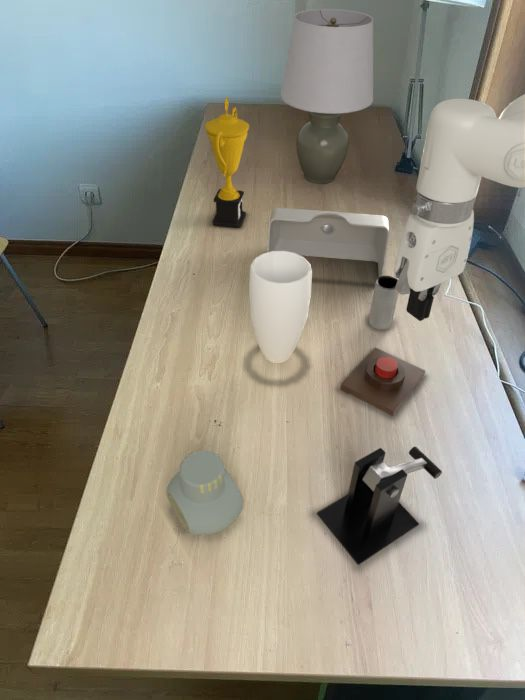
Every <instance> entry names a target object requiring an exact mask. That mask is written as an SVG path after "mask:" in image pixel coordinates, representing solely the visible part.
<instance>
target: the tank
mask: <svg viewBox="0 0 525 700" xmlns="http://www.w3.org/2000/svg"><path fill="white" fill-rule="evenodd" d="M389 226H390V225H389V219H388V217H387V216H385V215H383V214H371V213H354V212H343V211H330V210H329V211H328V210H317V209H315V210H313V209H304V208H303V209H301V208H289V207H275V208H273V209H272V211H271V214H270V217H269V222H268V232H267V233H268V234H267V246H266V247H267V248H266V249H267V251H266V253H267V252H271V251H288V252H293V253H296V254H298V255H300V256H302V257H316V258H318V257H319V258H326V259H327V258H329V259H340V260H341V259H342V260H353V261H367V262H375V263H377V271H378V278H379V277H381V276H385V267H386V260H387V254H388V245H389V240H390V239H389V238H390V228H389Z"/></svg>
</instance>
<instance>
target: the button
mask: <svg viewBox="0 0 525 700" xmlns="http://www.w3.org/2000/svg"><path fill="white" fill-rule="evenodd" d="M397 368H398V364H397V362H396V361H395V360H394V359H392V358H390V357H381V358H379V359H378V360H377V362H376V367H375V372H376V374H377V375H378V376H380V377H382V378H387V379H389V378H393V377H394V376H395V375H396V372H397Z"/></svg>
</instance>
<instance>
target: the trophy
mask: <svg viewBox="0 0 525 700" xmlns="http://www.w3.org/2000/svg"><path fill="white" fill-rule="evenodd" d="M228 110H229V97H228V96H226V97H225V99H224V111H225V113H223V114H220V115H219V116H218V117H217V118H214V119H213V118H212V119H211V120H209V121H207V122H206V123H205V124H204V129H205V131H206V136H207V138H208V140H209V141H210V145H211V150H212V153H213V155H214V156H213V157H214V160H215V163H216V165H217V169H218V170H219V171H220V173H222V176H223V177H225V178H224V179H225V185H224V186H222V187H221V188H219V189H218V190H217V192H216V194H215V195H214V198H213V202H214V203H215V212H216V213H215V215H214V218H213V220H212V226H214V227H220V228H231V229H240V228H241V227H243V224H244V221H245V219H246V216H247V212H246V211H244V210H243V197H244V194H245V192H244V190H238V189H236V187H235V186H233V184H232V183H233V182H232V176H233V175H234V173H236V172H237V170H238V169H239V165H240V162H241V157H242V154H243V150H244V147H245V142H246V140H247V137H248V131H249V129H250V124H249V123H248V122H246V121H245V120H243V119H240V118H238V109H237V107H235V106H233V107H232V109H231V113H228Z"/></svg>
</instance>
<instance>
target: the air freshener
mask: <svg viewBox="0 0 525 700" xmlns="http://www.w3.org/2000/svg"><path fill="white" fill-rule="evenodd" d="M165 491H166V496H167V498H168V501H169V504H170V506H171V508H172V509H173V512H174V513H175V515H176V517H177V518H178V520H179V522H180V524H181V525H182V527H183V528H184V530H185V531H186V532H187V533H188V534H191V535H194V536H210V535H215V534H218V533H221V532H222V531H224V530H226V529H228V528H229V527H230V526H231V525H232V524H233V523H234V522H236V520H237V519H238V518H239V516H240V514H241V512H242V509H243V507H244V498H243V495H242V492H241V490H240V488H239V487H238V485H237V483H236V481H235V480H234V478H233V477H232V475H231V474H230V472H229V471H228V470H227V469H226V468H225V463H224V460H223V458H221V457H220V455H218V454H217V453H215V452H213V451H210V450H206V449H205V450H197V451H194V452H191V453H189V454H188V455H187V456H185V457H184V459H183V460H182V461H181V463H180V466H179V471H178V472H177V473H176V474H174V476H173V477H171V479H170V481H169V483H168V485H167V487H166V489H165Z"/></svg>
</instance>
